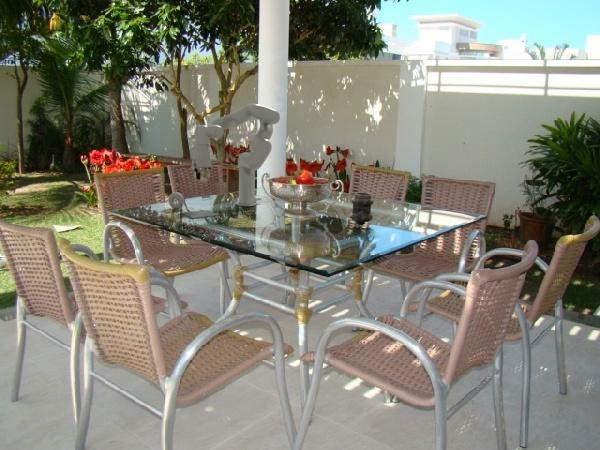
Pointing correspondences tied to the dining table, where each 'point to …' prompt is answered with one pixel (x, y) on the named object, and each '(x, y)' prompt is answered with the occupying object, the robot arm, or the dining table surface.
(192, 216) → the mat
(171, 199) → the donut
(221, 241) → the dining table surface
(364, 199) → the apothecary jar
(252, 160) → the robot arm
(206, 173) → the tan rectangular block
